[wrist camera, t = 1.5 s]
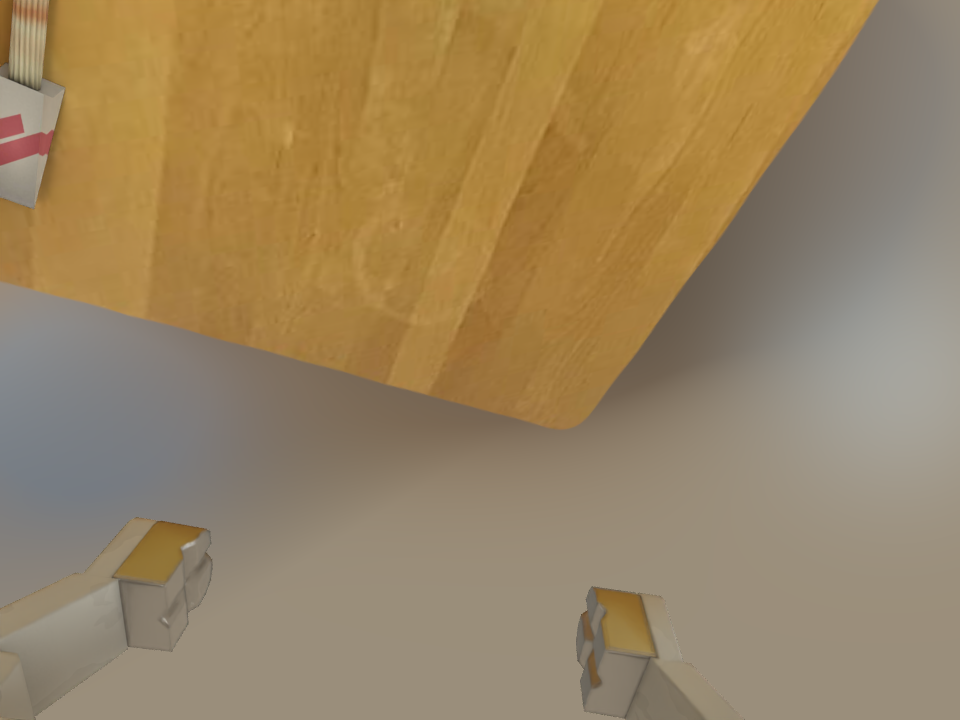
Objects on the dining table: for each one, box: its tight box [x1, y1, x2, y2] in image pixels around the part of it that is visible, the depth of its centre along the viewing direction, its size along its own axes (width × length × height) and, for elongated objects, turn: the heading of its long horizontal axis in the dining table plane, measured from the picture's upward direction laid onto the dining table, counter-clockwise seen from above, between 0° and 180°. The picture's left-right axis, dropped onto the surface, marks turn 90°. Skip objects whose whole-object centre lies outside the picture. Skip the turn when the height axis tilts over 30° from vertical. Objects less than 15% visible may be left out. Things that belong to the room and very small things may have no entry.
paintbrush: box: [0, 0, 65, 209], centre depth 41 cm, size 4×3×20 cm
